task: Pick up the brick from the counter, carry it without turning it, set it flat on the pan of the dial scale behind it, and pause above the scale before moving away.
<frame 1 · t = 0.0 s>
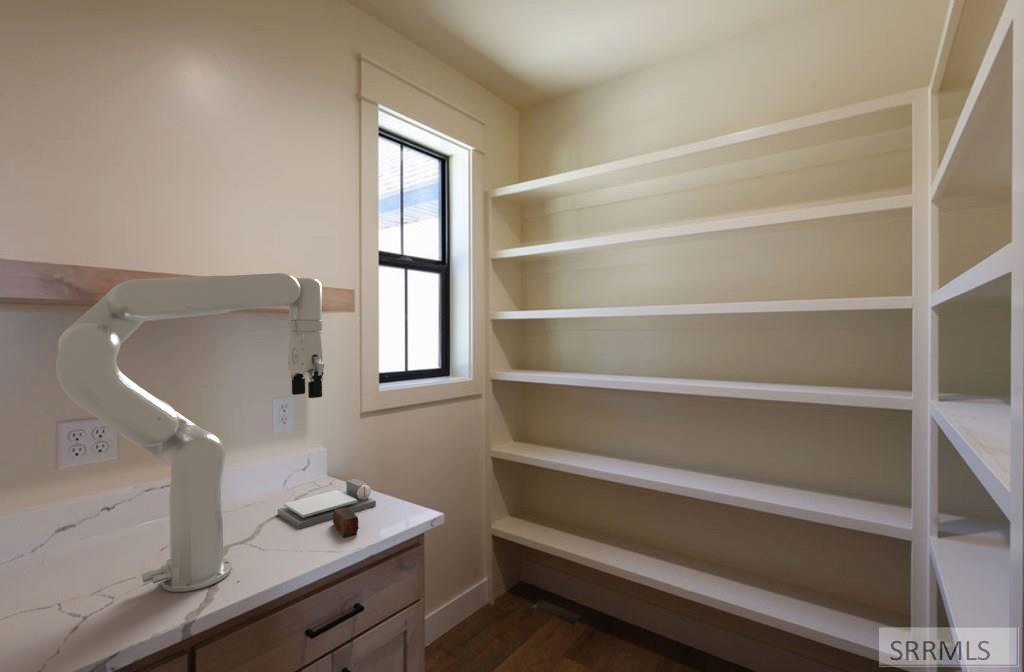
hand: (306, 395, 119), 37 cm above the worktop, tool pointing down, fingers open, 9 cm apart
scale: (327, 509, 141), on the worktop
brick: (345, 530, 127), on the worktop
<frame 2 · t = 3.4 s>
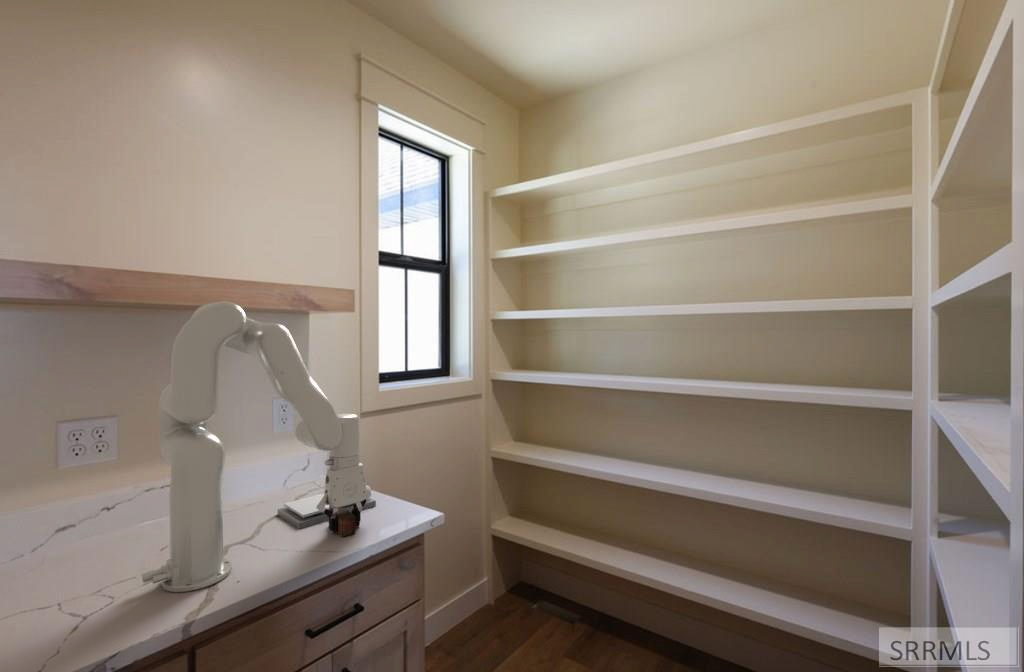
hand: (345, 527, 127), 0 cm above the worktop, tool pointing down, fingers open, 5 cm apart
nothing on the worktop moved.
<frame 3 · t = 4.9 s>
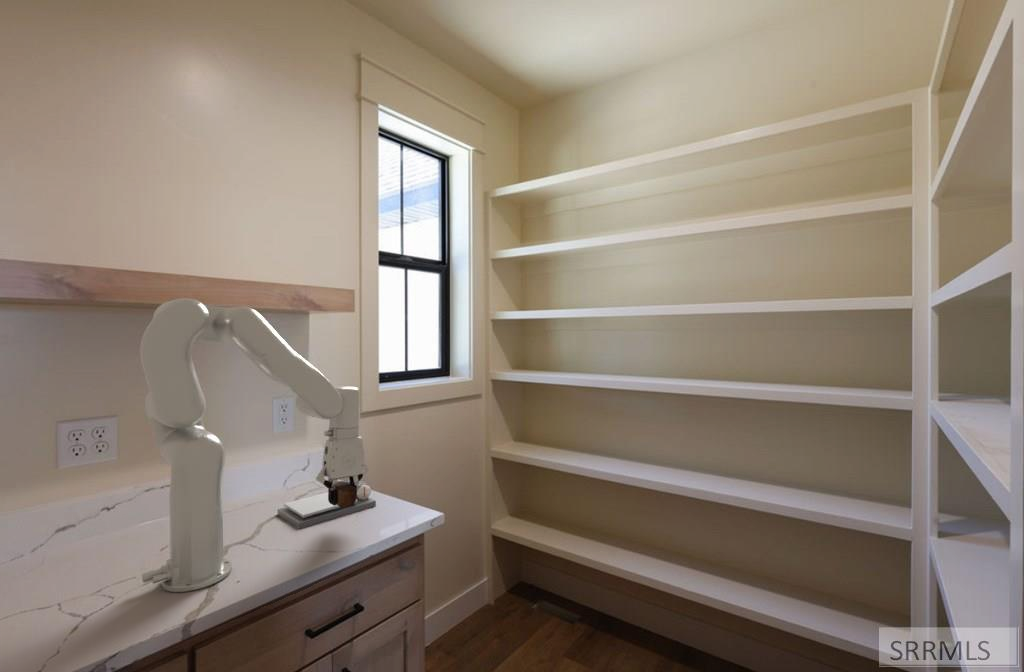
hand: (342, 501, 126), 8 cm above the worktop, tool pointing down, fingers closed on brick, 4 cm apart
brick: (342, 502, 127), point 7 cm above the worktop, touching gripper
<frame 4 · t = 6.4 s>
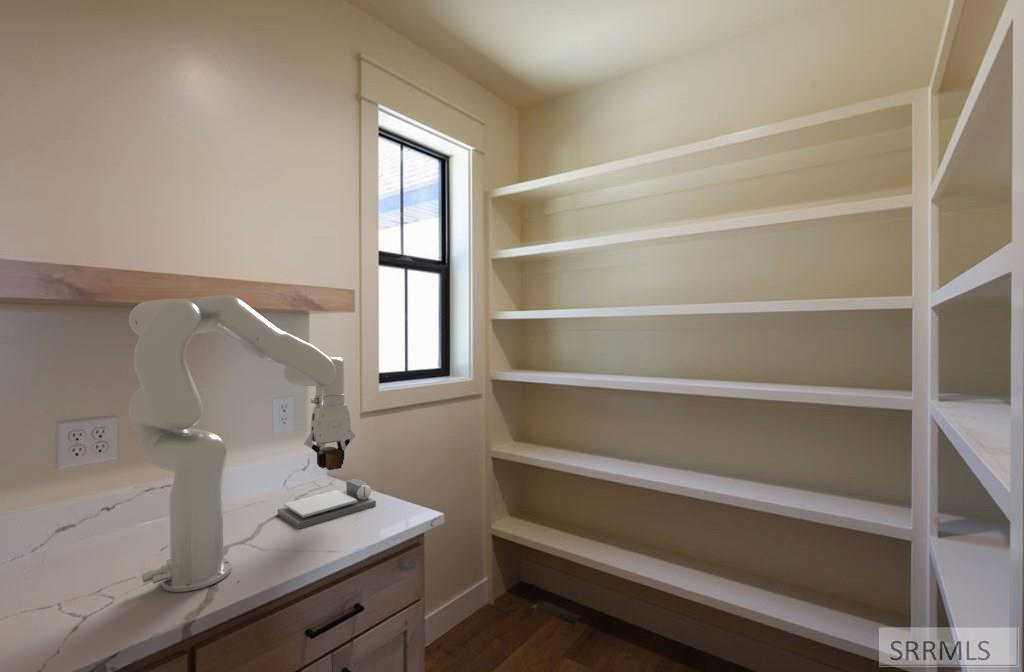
hand: (330, 464, 134), 15 cm above the worktop, tool pointing down, fingers closed on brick, 4 cm apart
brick: (330, 466, 134), point 15 cm above the worktop, touching gripper
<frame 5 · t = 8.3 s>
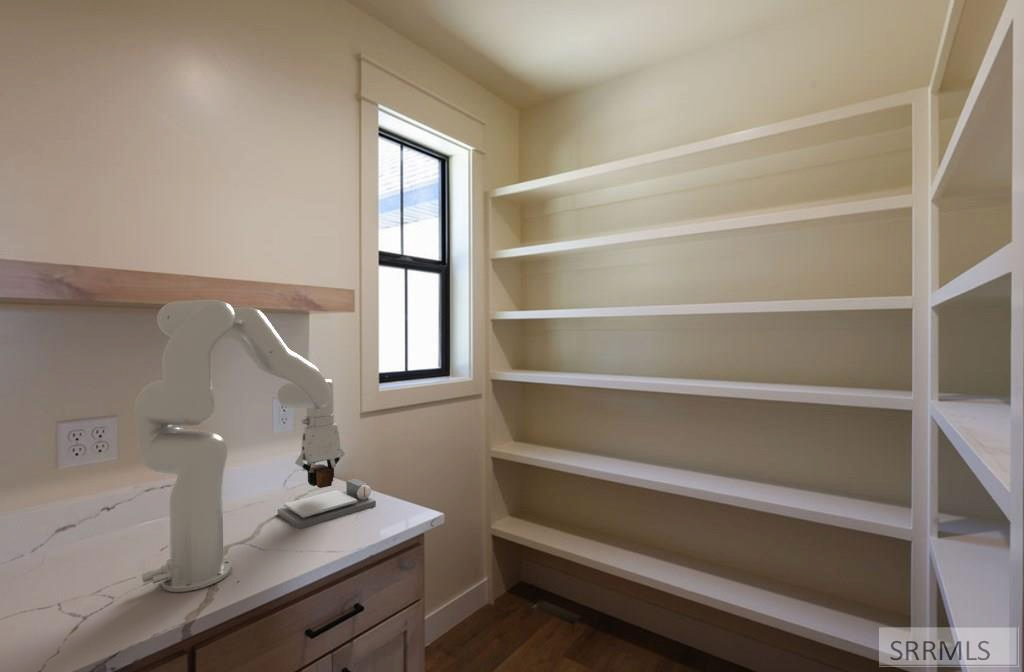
hand: (321, 482, 140), 9 cm above the worktop, tool pointing down, fingers closed on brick, 4 cm apart
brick: (320, 483, 140), point 8 cm above the worktop, touching gripper
when the fingers open (4 cm above the worktop, at t = 9.4 s): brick stays where it is, resting on scale.
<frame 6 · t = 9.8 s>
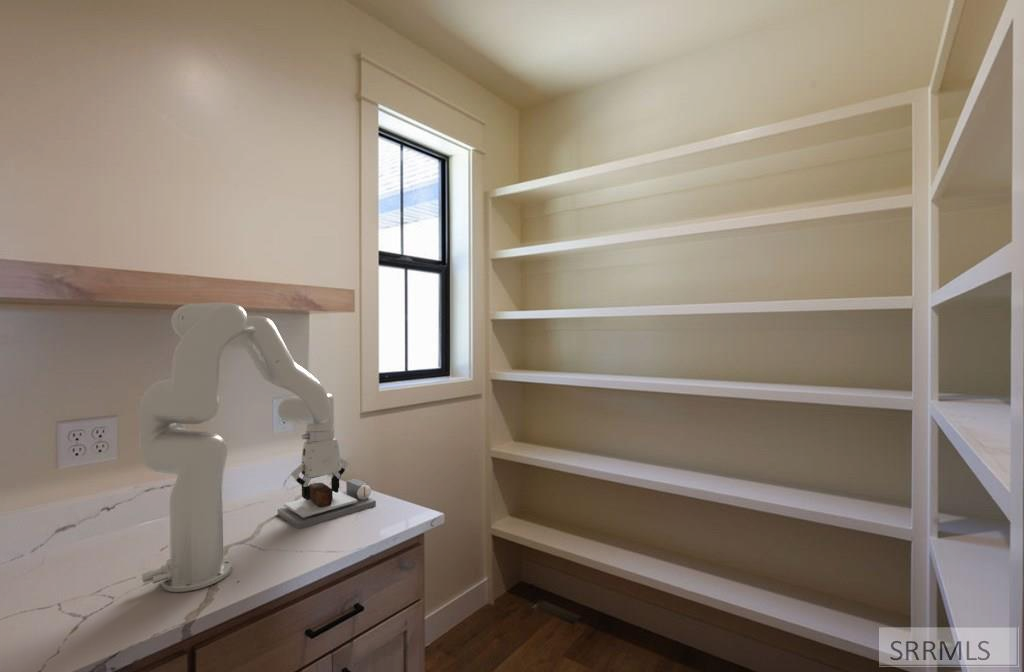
hand: (321, 494, 139), 5 cm above the worktop, tool pointing down, fingers open, 8 cm apart
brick: (320, 502, 139), point 3 cm above the worktop, touching scale
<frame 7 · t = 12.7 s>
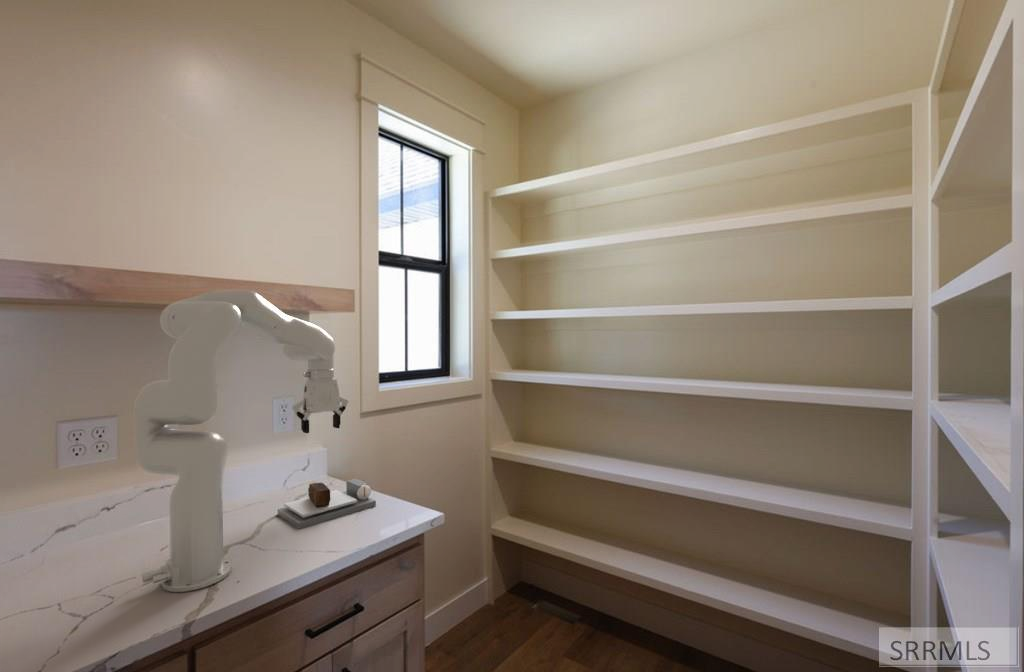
hand: (321, 430, 148), 22 cm above the worktop, tool pointing down, fingers open, 9 cm apart
nothing on the worktop moved.
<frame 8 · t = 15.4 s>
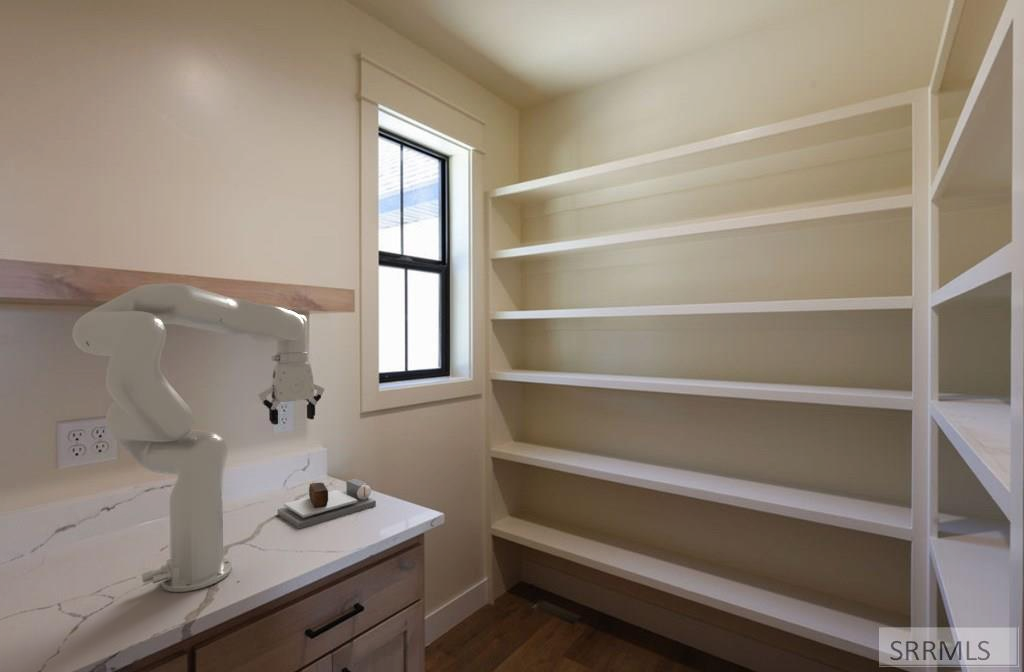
hand: (292, 421, 131), 28 cm above the worktop, tool pointing down, fingers open, 9 cm apart
nothing on the worktop moved.
at the end: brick inside the target area on the scale (0.7 cm from its centre), point 2.8 cm above the scale's base; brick tilted 0°; the gripper is holding nothing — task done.
